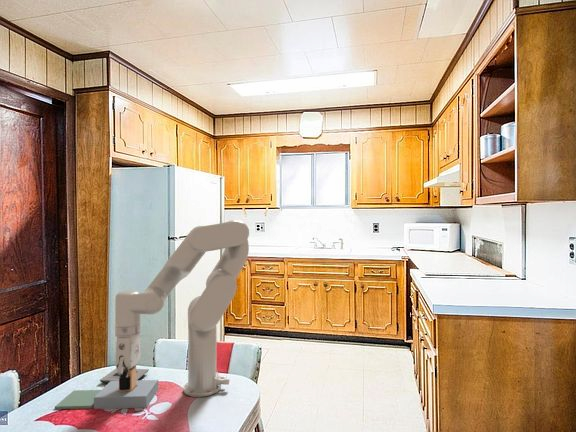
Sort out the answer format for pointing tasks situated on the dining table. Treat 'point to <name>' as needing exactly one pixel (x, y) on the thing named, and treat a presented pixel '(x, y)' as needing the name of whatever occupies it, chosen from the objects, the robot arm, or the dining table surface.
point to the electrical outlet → (115, 377)
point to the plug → (131, 378)
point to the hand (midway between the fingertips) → (127, 385)
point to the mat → (78, 400)
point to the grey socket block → (126, 395)
